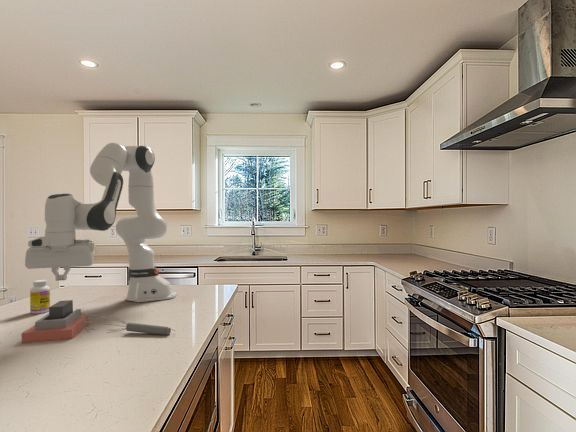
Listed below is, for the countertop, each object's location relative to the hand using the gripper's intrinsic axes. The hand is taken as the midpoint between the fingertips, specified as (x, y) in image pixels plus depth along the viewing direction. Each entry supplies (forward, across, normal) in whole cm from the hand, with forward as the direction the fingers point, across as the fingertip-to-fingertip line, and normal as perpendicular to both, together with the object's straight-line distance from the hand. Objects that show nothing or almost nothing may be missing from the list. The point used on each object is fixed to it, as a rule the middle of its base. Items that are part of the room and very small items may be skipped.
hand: (61, 280), depth 119 cm
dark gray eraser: (+14, 0, 0) cm, 14 cm away
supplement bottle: (+17, +17, -28) cm, 37 cm away
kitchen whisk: (+18, -23, +10) cm, 30 cm away
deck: (+17, 0, +3) cm, 17 cm away
